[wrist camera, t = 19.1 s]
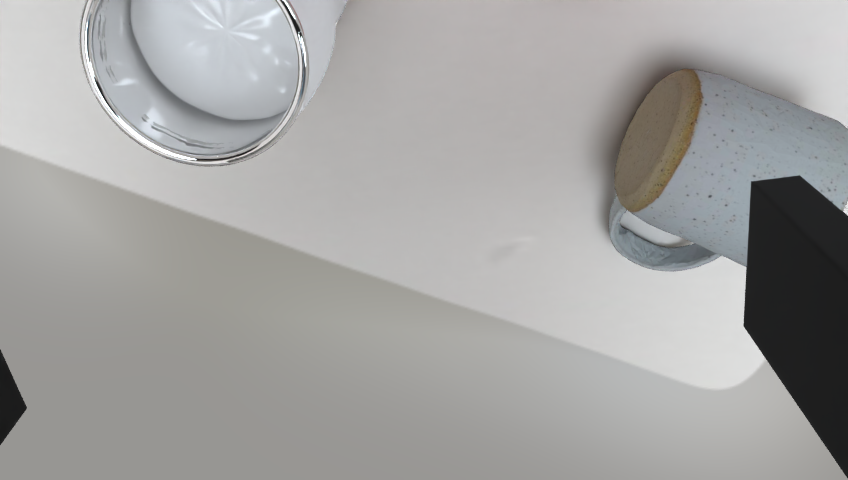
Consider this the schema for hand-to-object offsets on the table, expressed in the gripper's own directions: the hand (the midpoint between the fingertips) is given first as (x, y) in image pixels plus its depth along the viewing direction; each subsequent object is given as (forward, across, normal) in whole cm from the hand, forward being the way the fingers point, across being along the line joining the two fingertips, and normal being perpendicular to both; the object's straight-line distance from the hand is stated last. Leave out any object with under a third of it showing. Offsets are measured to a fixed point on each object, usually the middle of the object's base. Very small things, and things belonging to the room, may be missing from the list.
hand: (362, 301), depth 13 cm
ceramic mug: (+26, +14, -9) cm, 31 cm away
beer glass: (+26, -5, +2) cm, 27 cm away
